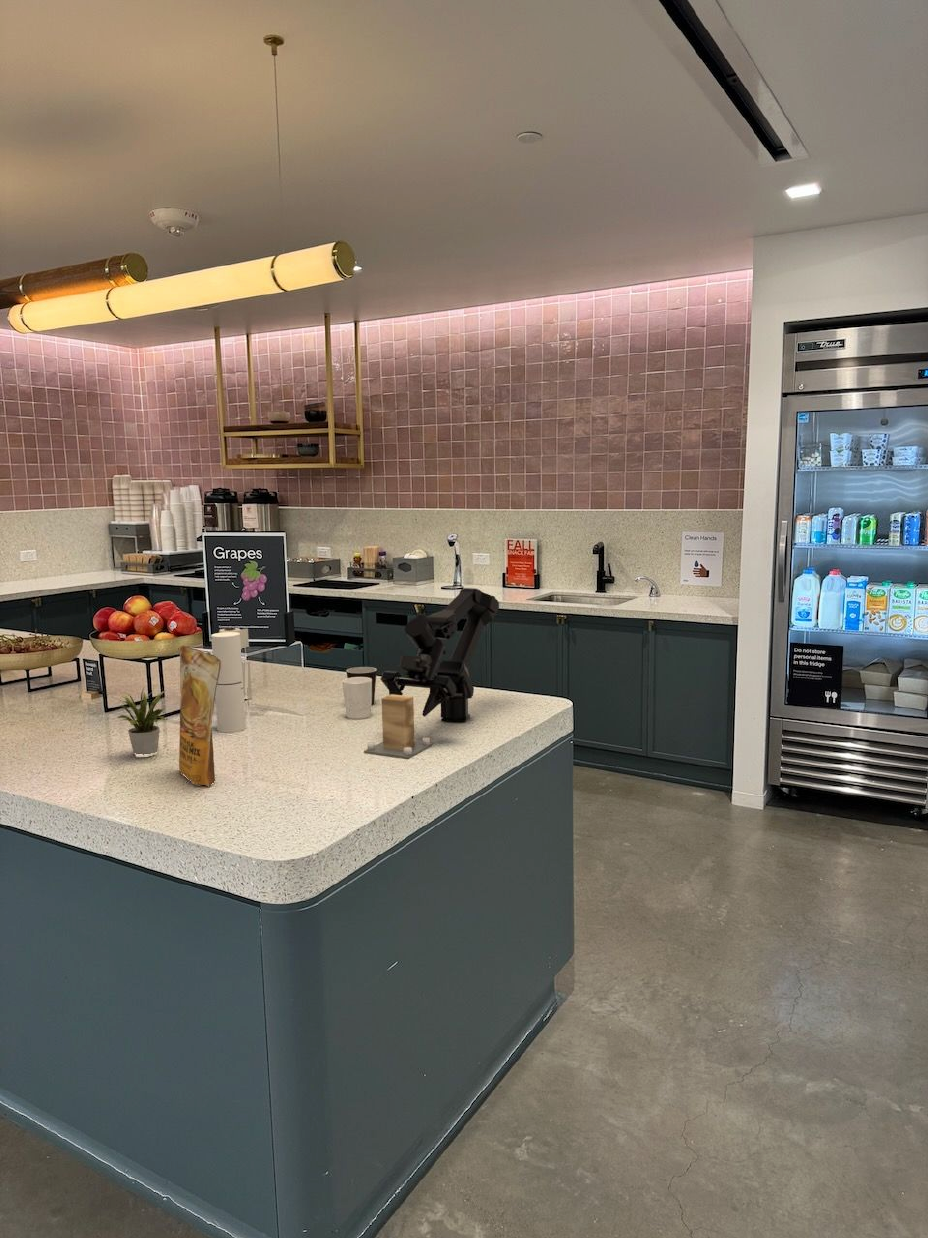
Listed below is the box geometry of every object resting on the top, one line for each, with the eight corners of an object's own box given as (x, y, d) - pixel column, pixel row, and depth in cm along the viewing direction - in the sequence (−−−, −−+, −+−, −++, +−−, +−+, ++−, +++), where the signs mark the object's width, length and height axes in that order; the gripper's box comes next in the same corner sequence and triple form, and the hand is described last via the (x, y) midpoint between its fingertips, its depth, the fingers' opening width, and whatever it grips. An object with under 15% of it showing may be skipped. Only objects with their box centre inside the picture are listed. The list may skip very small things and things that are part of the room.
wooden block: (393, 742, 218) (391, 694, 216) (414, 745, 215) (413, 696, 213) (383, 748, 214) (381, 698, 212) (404, 750, 211) (403, 700, 209)
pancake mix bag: (201, 763, 207) (193, 642, 203) (231, 785, 191) (223, 655, 187) (171, 769, 203) (162, 646, 199) (199, 791, 187) (190, 659, 183)
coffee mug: (372, 708, 253) (371, 673, 252) (343, 707, 255) (342, 672, 253) (384, 698, 264) (383, 665, 263) (356, 697, 266) (355, 664, 265)
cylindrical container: (211, 731, 234) (205, 635, 230) (230, 724, 240) (224, 631, 236) (232, 734, 230) (226, 637, 227) (251, 727, 237) (245, 633, 233)
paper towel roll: (219, 702, 264) (214, 630, 261) (230, 697, 270) (226, 627, 267) (241, 703, 262) (237, 631, 259) (252, 698, 268) (247, 627, 264)
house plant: (104, 767, 205) (98, 697, 202) (111, 750, 218) (105, 684, 216) (170, 761, 209) (165, 692, 206) (173, 745, 222) (168, 680, 219)
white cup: (375, 712, 249) (374, 676, 247) (370, 719, 241) (368, 683, 240) (347, 712, 250) (346, 676, 248) (341, 719, 242) (339, 683, 240)
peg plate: (390, 739, 222) (390, 731, 222) (433, 745, 217) (433, 736, 217) (363, 752, 212) (363, 744, 211) (408, 759, 206) (407, 750, 206)
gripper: (382, 639, 223) (359, 693, 215) (449, 643, 214) (428, 700, 207) (400, 663, 231) (379, 716, 223) (465, 668, 223) (445, 724, 215)
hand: (406, 713), depth 217 cm, fingers open, 9 cm apart
